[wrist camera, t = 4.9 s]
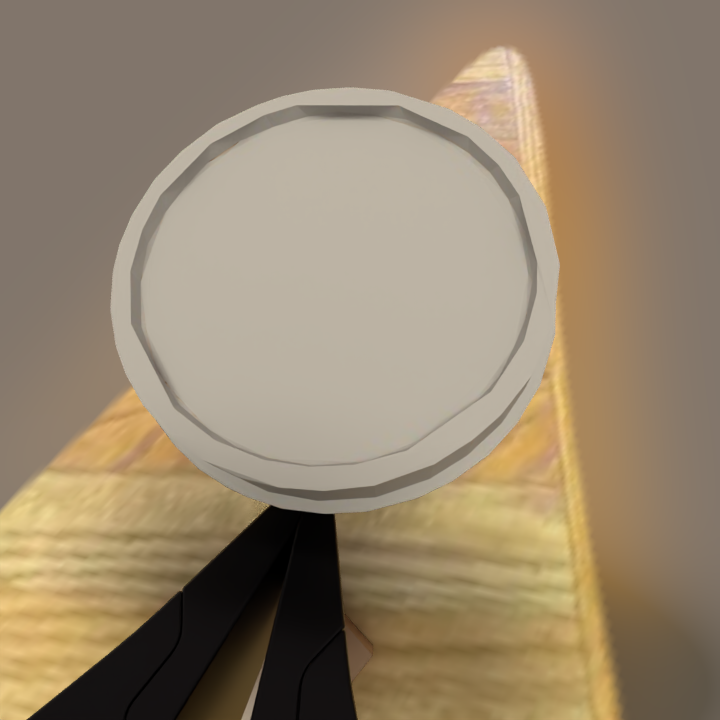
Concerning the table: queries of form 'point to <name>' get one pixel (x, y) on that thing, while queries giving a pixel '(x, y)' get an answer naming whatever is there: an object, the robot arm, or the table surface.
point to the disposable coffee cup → (337, 299)
